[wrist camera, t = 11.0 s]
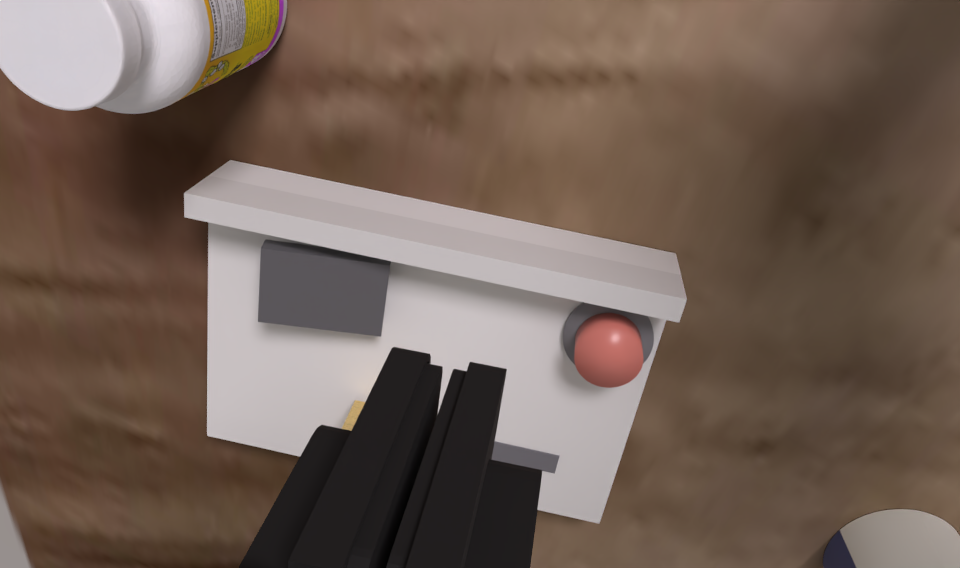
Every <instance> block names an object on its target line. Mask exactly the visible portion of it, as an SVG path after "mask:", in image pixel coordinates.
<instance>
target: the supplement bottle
mask: <svg viewBox="0 0 960 568" xmlns="http://www.w3.org/2000/svg"><path fill="white" fill-rule="evenodd" d="M286 14H287V0H0V68H1V69H2V71H3V72H4V73H5V75H6V76H7V77H8V78H9V79H10V80H11V81H12V83H13V84H14V85H16V86H17V87H18V88H19V89H20V90H21V91H23V92H24V93H25V94H27V95H28V96H29V97H31V98H33V99H35V100H36V101H38V102H40V103H42V104H45V105H47V106H49V107H53V108H56V109H61V110H69V111H78V110H84V109H89V108H92V107H95V106H96V107H99V108H102V109H105V110H108V111H112V112H117V113H125V114H140V113H147V112H152V111H156V110H159V109H162V108H164V107H167V106H169V105H171V104H173V103H175V102H177V101H179V100H181V99H183V98H185V97H187V96H189V95H191V94H193V93H195V92H197V91H199V90H201V89H203V88H205V87H207V86H209V85H211V84H213V83H216V82H218V81H219V80H222V79H224V78H226V77H228V76H230V75H232V74H234V73H236V72H238V71H240V70H242V69H244V68H246V67H248V66H250V65H251V64H253V63H255V62H257V61H258V60H260V59H261V58H262V57H264V56H265V55H266V54H267V53H268V52H269V51H270V50H271V49H272V48H273V46H274V45H275V44H276V42H277V41H278V39H279V37H280V35H281V33H282V30H283V27H284V24H285V20H286Z"/></svg>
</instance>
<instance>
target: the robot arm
mask: <svg viewBox="0 0 960 568" xmlns="http://www.w3.org/2000/svg"><path fill="white" fill-rule="evenodd" d="M506 371H507V369H505V368H500V367H495V366H490V365H484V364H479V363H474V362H470V363H469V366H468V369H467V371H463V370H458V369H453V371H452V374H451V377H450V380H449V383H448V386H447V389H446V392H445V394H444V397H443V400H442V403H441V406H440V409H439V412H438V406H439V398H440V390H441V382H442V373H443V367H442V366H438V365H433V364H431V355H430V354H428V353H423V352H418V351H413V350H408V349H403V348H398V347H393V348H392V349H391V351H390V353H389V355H388V357H387V359H386V361H385V363H384V365H383V367H382V369H381V371H380V373H379V375H378V377H377V379H376V381H375V383H374V385H373V388H372V390H371V392H370V394H369V396H368V398H367V400H366V402H365V404H364V406H363V408H362V410H361V412H360V414H359V416H358V418H357V420H356V422H355V425H354V427H353V429H352V431H350V430H345V429H340V428H336V427H331V426H326V425H320V426H319V427H317V429H316V430H315V432H314V433H313V435H312V436H311V438H310V440H309V442H308V443H307V445H306V447H305V449H304V451H303V453H302V454H301V456H300V458H299V460H298V462H297V463H296V465H295V467H294V469H293V471H292V472H291V474H290V476H289V478H288V480H287V481H286V483H285V485H284V487H283V489H282V490H281V492H280V494H279V496H278V498H277V499H276V501H275V503H274V505H273V507H272V508H271V510H270V512H269V514H268V516H267V517H266V519H265V521H264V523H263V525H262V527H261V528H260V530H259V532H258V534H257V536H256V537H255V539H254V541H253V543H252V545H251V546H250V548H249V550H248V552H247V554H246V555H245V557H244V559H243V561H242V563H241V564H240V566H239V568H530V563H531V556H532V548H533V540H534V532H535V525H536V517H537V509H538V501H539V494H540V486H541V478H542V470H540V469H535V468H530V467H525V466H520V465H515V464H510V463H506V462H501V461H496V460H492V454H493V448H494V442H495V436H496V430H497V424H498V419H499V413H500V407H501V401H502V395H503V389H504V384H505V378H506ZM437 414H438V415H437Z"/></svg>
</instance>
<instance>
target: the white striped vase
mask: <svg viewBox="0 0 960 568" xmlns="http://www.w3.org/2000/svg"><path fill="white" fill-rule="evenodd" d="M823 568H960V535H959V534H958V532H957V531H956V530H955V529H954V528H953V527H952V526H951V525H950V524H948V523H947V522H946V521H944V520H942V519H941V518H939V517H937V516H934V515H932V514H929V513H926V512H922V511H918V510H909V509H892V510H884V511H878V512H874V513H871V514H868V515H865V516H862V517H860V518H858V519H856V520H854V521H852V522H850V523H848V524H847V525H845V526H844V527H843V528H841V529H840V530H839V531H838V532H837V533H836V534H835V535H834V536H833V537H832V539H831V540H830V542H829V543H828V545H827V547H826V549H825V552H824V557H823Z"/></svg>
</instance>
